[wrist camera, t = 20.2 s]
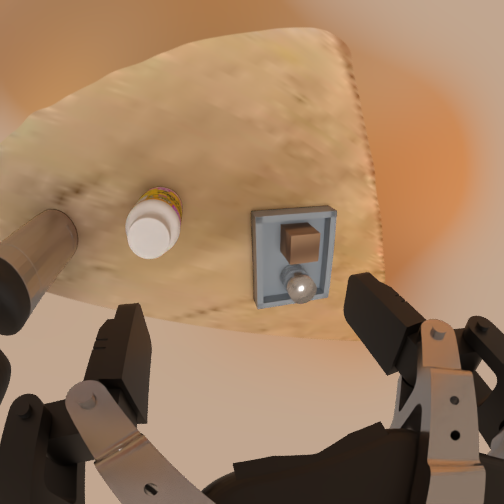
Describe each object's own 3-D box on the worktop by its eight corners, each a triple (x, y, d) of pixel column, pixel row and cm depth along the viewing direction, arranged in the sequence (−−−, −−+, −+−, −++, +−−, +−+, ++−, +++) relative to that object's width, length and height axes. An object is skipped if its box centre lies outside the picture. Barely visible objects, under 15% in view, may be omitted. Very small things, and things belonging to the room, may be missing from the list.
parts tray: (253, 299, 49) (257, 309, 46) (251, 211, 42) (255, 217, 40) (321, 288, 51) (328, 297, 49) (328, 205, 45) (336, 210, 42)
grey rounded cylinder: (279, 287, 48) (289, 305, 43) (280, 265, 46) (290, 281, 41) (303, 284, 49) (315, 301, 44) (304, 261, 47) (317, 277, 42)
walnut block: (280, 224, 43) (291, 236, 39) (307, 222, 44) (320, 233, 40) (280, 251, 45) (290, 264, 41) (306, 248, 46) (318, 261, 41)
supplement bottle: (191, 210, 40) (192, 242, 29) (158, 237, 41) (148, 279, 30) (162, 176, 37) (150, 195, 26) (129, 205, 38) (106, 236, 27)
